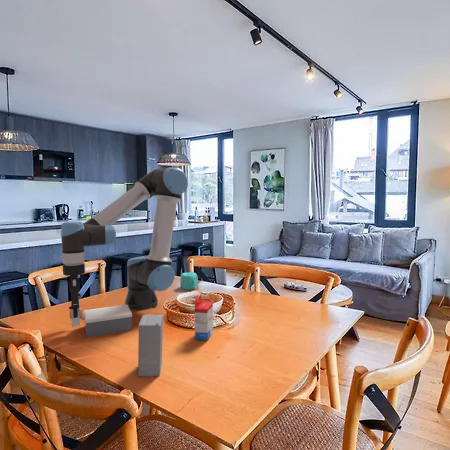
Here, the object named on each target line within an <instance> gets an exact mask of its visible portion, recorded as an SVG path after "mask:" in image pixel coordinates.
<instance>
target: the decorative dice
mask: <svg viewBox="0 0 450 450" xmlns="http://www.w3.org/2000/svg"><path fill="white" fill-rule="evenodd" d="M198 279H199V278H198V275H197V273H196V272H192V271H191V272H189V271H188V272H183V273H181V275H180V280H179V281H180V288H181V289H183V290H184V291H185V290H186V291H190V290H195V289H197V287H198V283H199V280H198Z"/></svg>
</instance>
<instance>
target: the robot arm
mask: <svg viewBox="0 0 450 450" xmlns="http://www.w3.org/2000/svg"><path fill="white" fill-rule="evenodd" d="M188 186H189V180H188V177H187V175H186V173H185V172H184V171H183V169H181V168H178V167H164V168H156V169H154V170H151V171H150V172H148V173H146V175H144V176H142V177H141V178H140V179H138V180H137V181H136V182H135V183H134V186H133V187H131V188H130V189H128V190H127V191H126V192H125V193H123V194H122V195H121V196H119V197H118V198H117V199H115V200H114V201H112V202H111V203H109V205H107V206H106V207H104V208H103V209H101V210H100V211H99V212H98V213H96V214H95V215H93V216H92V217H91V218H89V219H88V220H86V221H84V222H83V221H64V222H63V223H62V224H61V230H60V233H61V234H60V236H61V253H62V255H60V258H61V259H62V264H63V265H62V274H63V276H67V277H69V276H70V278H68V288H69V292H70V299H71V300H70V301H71V305H70V306H69V307H68V309H69V310H70V309H71V319H70V320H71V327H72V328H73V327H78V326H79V327H80V326H81V319H80V311H79V306H80V297H81V293H79V292H80V290H81V288H80V286H81V277H79V276H81V275H84V274H85V273H86V264H85V262H86V261H85V258H86V257H85V247H94V246H95V247H96V246H107V245H112V244H114V243H115V242H116V239H117V232H116V229H115V227H114V226H113V225H114V224H115V223H117V222H118V221H119V220H120V219H121V218H123V217H124V216H125V215H127V214H128V213H129V212H130V211H132V210H133V209H135V208H136V207H137V206H139V205H140V204H141V203H143V202H144V201H145V200H147V201H149V200H150V199H151V198H153V197H154V198H155V199H156V201H157V202H156V208H155V215H154V220H153V221H154V222H153V227H152V228H153V230H152V235H151V241H150V247H149V249H150V250H149V254H148V255H147V256H138V257H133V258H129V259H128V260H127V265H126V269H127V271H126V272H127V286H128V287H127V293H126V297H125V301H124V305H128V307H129V309H130V310H133V311H134V310H135V311H139V310H141V311H142V310H149V309H153V308H156V307H157V306H158V304H159V301H158V300H159V299H158V297H157V295H156V292H164V291H166V290H168V289H169V288H170V287H171V286H172V285H173V283H174V281H175V276H176V273H175V270H174V268H173V267H172V263H173V260H172V259H171V258H170V252H171V247H172V245H171V244H172V239H173V233H174V232H173V231H174V227H175V226H174V224H175V220H176V219H175V218H176V210H177V204H178V203H179V202H180V201H182V195H183V194H184V193H185V192H186V191H187V190H188V188H189V187H188ZM155 291H156V292H155Z"/></svg>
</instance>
